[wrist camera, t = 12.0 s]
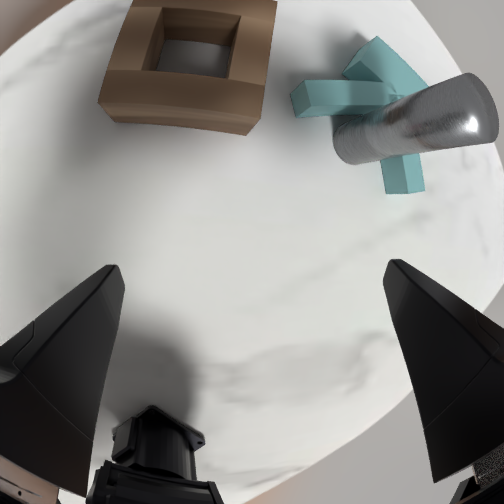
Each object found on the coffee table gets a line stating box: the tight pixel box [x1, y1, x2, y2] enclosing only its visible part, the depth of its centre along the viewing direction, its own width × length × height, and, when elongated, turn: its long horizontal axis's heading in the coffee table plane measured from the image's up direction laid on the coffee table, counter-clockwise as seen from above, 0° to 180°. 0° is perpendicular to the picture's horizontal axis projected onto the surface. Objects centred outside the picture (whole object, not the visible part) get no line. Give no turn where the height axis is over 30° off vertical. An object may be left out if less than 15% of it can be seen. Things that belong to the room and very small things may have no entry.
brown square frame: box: [97, 0, 278, 136], centre depth 16 cm, size 10×10×4 cm
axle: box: [333, 73, 499, 165], centre depth 16 cm, size 4×4×13 cm
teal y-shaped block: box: [290, 36, 429, 194], centre depth 20 cm, size 10×13×3 cm
